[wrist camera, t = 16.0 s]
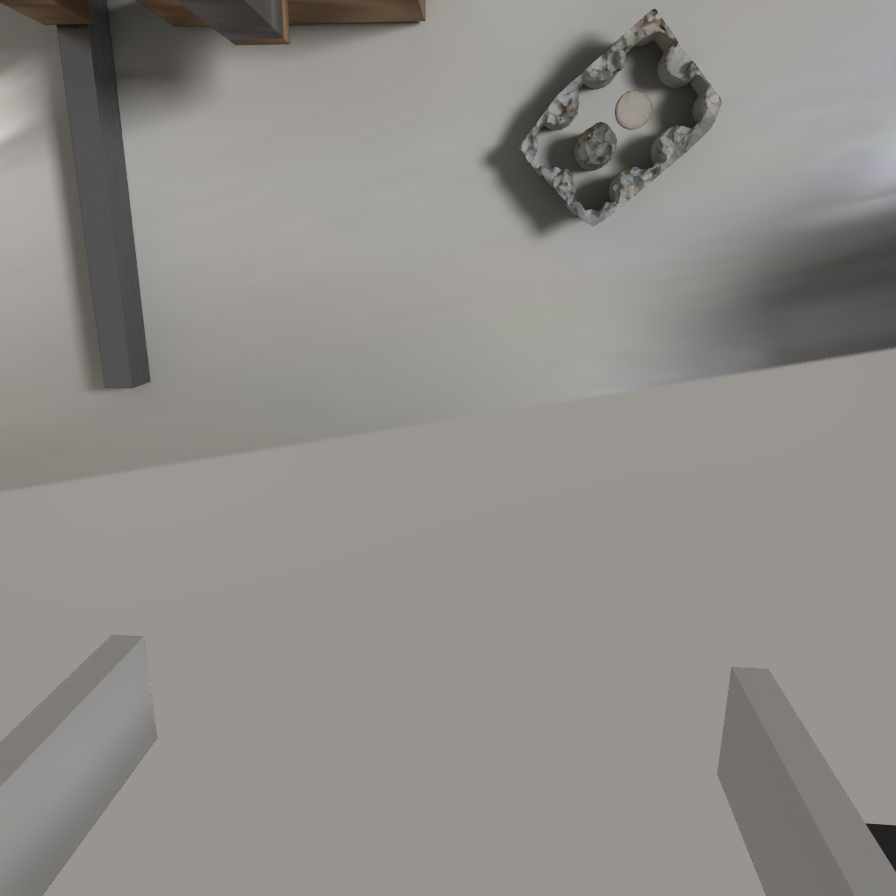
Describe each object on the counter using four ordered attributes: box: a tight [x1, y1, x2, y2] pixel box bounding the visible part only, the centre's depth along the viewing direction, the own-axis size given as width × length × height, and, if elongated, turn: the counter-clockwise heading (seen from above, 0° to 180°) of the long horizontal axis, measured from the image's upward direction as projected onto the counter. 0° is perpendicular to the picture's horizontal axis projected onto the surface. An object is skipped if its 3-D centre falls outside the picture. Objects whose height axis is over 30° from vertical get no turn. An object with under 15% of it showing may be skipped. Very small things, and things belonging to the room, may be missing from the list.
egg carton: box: [519, 9, 722, 226], centre depth 42 cm, size 11×8×4 cm
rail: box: [57, 0, 150, 388], centre depth 45 cm, size 2×30×2 cm, turn 0°
